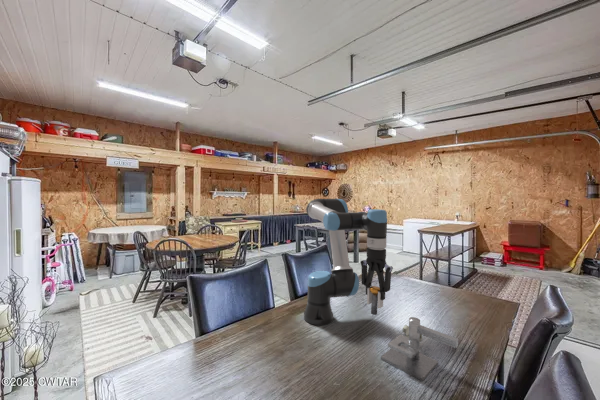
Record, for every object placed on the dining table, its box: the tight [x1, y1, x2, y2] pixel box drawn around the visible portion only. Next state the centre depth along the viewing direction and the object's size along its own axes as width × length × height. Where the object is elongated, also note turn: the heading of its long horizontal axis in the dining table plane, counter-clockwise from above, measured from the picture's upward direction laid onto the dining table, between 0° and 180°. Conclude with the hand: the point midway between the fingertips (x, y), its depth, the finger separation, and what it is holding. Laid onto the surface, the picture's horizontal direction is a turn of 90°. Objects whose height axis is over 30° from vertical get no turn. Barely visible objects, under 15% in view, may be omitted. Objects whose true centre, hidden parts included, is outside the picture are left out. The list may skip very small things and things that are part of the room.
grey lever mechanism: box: [380, 316, 459, 382], centre depth 96 cm, size 23×15×15 cm, turn 42°
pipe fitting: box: [402, 324, 423, 342], centre depth 116 cm, size 8×4×7 cm
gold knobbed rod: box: [370, 285, 380, 316], centre depth 105 cm, size 4×4×10 cm
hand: (374, 305), depth 105 cm, fingers closed on gold knobbed rod, 4 cm apart
